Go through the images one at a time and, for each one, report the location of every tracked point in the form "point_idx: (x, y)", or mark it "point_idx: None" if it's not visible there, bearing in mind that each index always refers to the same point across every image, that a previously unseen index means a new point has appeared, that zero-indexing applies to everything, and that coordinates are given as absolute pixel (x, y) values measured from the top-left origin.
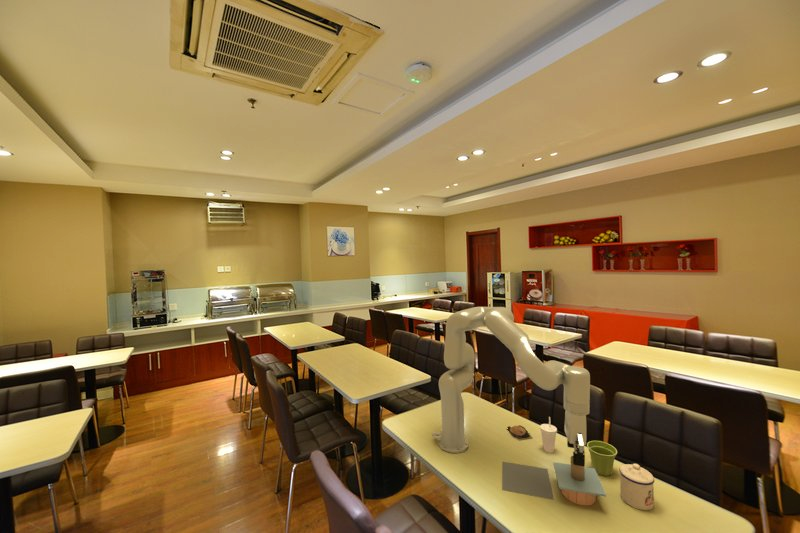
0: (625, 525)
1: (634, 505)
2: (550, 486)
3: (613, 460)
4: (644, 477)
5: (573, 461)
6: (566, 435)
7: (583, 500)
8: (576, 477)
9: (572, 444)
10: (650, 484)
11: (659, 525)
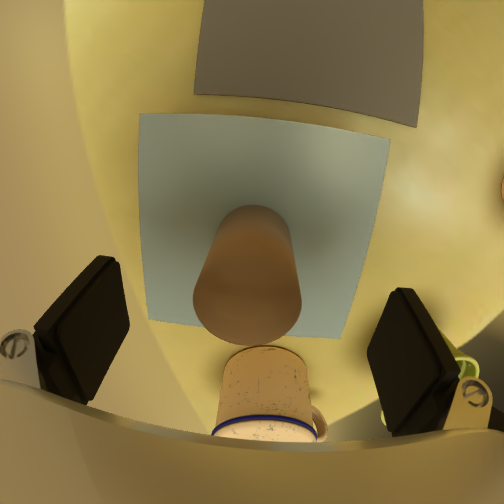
0: (145, 308)
1: (228, 364)
2: (287, 97)
3: None
4: None
5: (87, 266)
6: (233, 466)
7: None
8: (217, 231)
9: (389, 342)
10: None
11: (179, 377)
